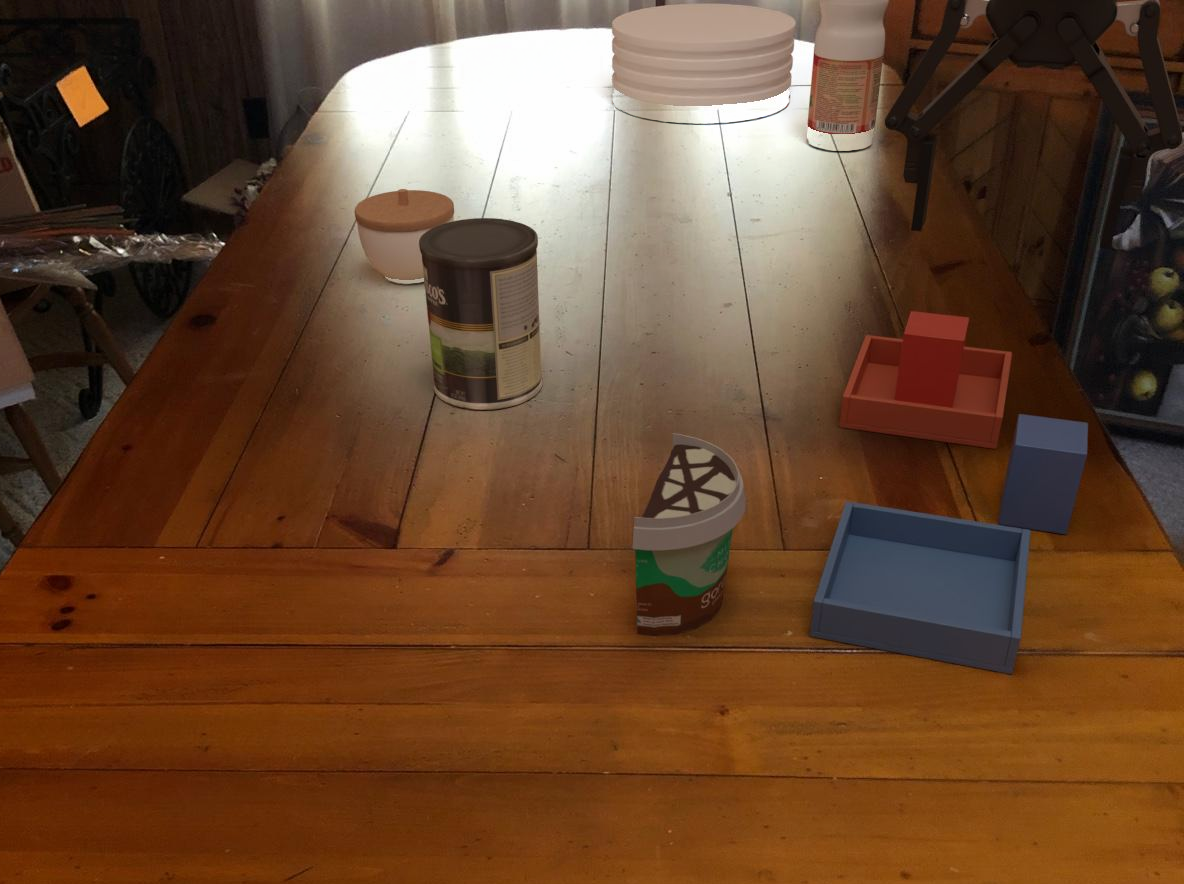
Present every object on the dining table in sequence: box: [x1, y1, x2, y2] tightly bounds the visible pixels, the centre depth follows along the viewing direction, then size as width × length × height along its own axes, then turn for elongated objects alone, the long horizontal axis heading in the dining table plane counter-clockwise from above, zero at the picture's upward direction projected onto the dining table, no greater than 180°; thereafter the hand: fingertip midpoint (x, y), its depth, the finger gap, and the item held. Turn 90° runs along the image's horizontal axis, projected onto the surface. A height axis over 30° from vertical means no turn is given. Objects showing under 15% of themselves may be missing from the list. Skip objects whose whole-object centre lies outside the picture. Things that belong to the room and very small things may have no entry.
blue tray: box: [809, 501, 1032, 675], centre depth 85 cm, size 13×13×3 cm
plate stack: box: [611, 3, 797, 106], centre depth 190 cm, size 28×28×12 cm
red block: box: [894, 310, 970, 408], centre depth 107 cm, size 5×5×7 cm
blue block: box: [997, 413, 1089, 536], centre depth 92 cm, size 5×5×7 cm
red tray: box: [838, 334, 1013, 450], centre depth 108 cm, size 13×13×3 cm
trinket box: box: [354, 188, 455, 280], centre depth 134 cm, size 11×11×9 cm
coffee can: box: [419, 217, 544, 411], centre depth 110 cm, size 10×10×14 cm
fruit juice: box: [807, 0, 890, 134], centre depth 165 cm, size 9×9×28 cm
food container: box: [631, 432, 747, 636], centre depth 83 cm, size 12×6×10 cm, turn 164°
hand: (1009, 234), depth 92 cm, fingers open, 13 cm apart
